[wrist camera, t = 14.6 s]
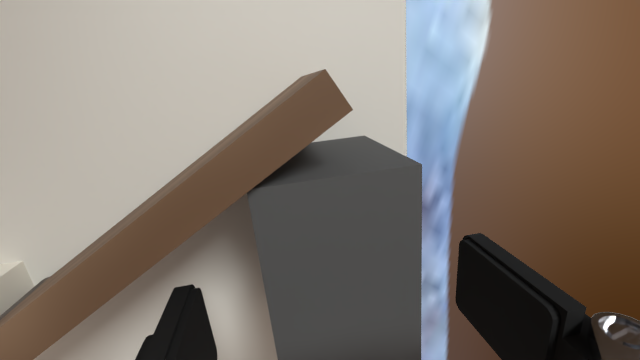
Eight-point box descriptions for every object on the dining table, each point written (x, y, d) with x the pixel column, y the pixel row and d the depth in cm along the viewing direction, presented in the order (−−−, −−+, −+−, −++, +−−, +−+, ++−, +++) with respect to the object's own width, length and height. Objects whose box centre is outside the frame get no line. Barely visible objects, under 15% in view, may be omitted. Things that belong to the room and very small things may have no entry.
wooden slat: (30, 289, 13) (-125, 421, 8) (299, 74, 12) (322, 65, 7) (57, 309, 14) (-71, 445, 8) (320, 102, 13) (355, 112, 8)
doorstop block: (254, 149, 13) (246, 189, 8) (364, 135, 14) (421, 164, 9) (279, 300, 16) (286, 404, 11) (372, 282, 16) (420, 372, 11)
